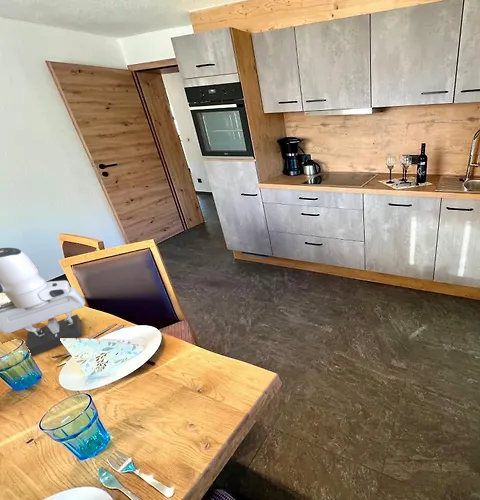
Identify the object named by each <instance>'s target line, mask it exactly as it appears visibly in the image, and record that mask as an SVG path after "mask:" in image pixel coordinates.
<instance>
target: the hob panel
mask: <svg viewBox="0 0 480 500" xmlns="http://www.w3.org/2000/svg"><path fill="white" fill-rule="evenodd" d="M71 319H72V321H73V322H72V323H69V324H66V322H65V318H63V319H60V320H57V322H58V323H59V325H60V328H59V332H57V333H55V334H53V333H52V332H51V330H50V329H49V328H48V324H46V325H44V326H40V328H41V330H43V334H40V335H36V334H35V333H34V332H31V331H28V332H27V335H26V341H25V345H26V346H27V347H28V349H29V350H30V353H31V356H32V357H34V356H36V355H39V354H41V353H45V352H47V351H49V350H52V349H54V348H57V347H59V346H62V345H63V344H62V343H61V341H60V338H76V339H78V338H81V337H83V333H82V330H83V329H82V320H81V318H80V316H79V315H78V314H74V315H71Z"/></svg>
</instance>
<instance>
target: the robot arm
mask: <svg viewBox="0 0 480 500" xmlns="http://www.w3.org/2000/svg"><path fill="white" fill-rule="evenodd" d="M0 294H4V295H5V296H6V295H7V296H8V297H7V296H6V297H7V298H8V299H10V300H11V301H12V302H11V301H9V302H5V303H3V304H1V305H0V332H1V333H2V334H6V335H8V334H11V333H14V332H17V331H21V330H23V329H25V331H28V332H30V331H31V332H34V333H35V334H36V335H40V334H43V330H41V327H34V325H37V324H40V323H42V322H46V321H48V319H51V318H56V317H59V316H61V315H62V316H63V315H65V316H67V317H65V318H64V319H65V322H66V324H69V323H72V322H73V321H72V319H71V316H72V315H73V314H72V313H73V311H76V310H79V309H82V308H84V306H85V305H86V299H85V298H84V296H83V295H82V294H81V293H80V291H79V290H78V289H77V288H75V287H74V286H71V285H70V282H69V281H68V280H54V281H46V279H45V278H43V277H42V276H41V275H40V272H39V269H38V268H37V266H36V265H35V264H34V262H33V261H32V260H31V258H30V257H29V256H28V254H27V253H25V252H24V251H22V250H21V249H19V248H16V247H0Z"/></svg>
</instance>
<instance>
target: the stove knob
mask: <svg viewBox="0 0 480 500" xmlns="http://www.w3.org/2000/svg"><path fill="white" fill-rule="evenodd" d="M57 321H58V320H57V319H56V317H54V318H51V319H48V320H47V325H48V328H49V329H50V330H51V332H52V333H53V334H55V333H57V332H59V328H60V325H59V323H58V322H57Z"/></svg>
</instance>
